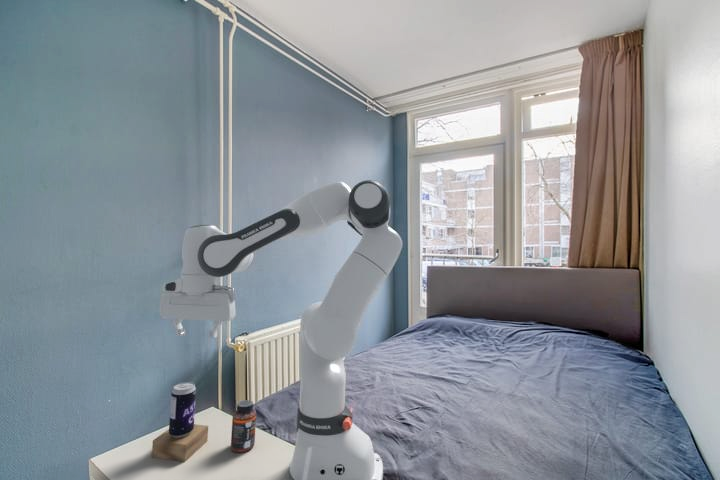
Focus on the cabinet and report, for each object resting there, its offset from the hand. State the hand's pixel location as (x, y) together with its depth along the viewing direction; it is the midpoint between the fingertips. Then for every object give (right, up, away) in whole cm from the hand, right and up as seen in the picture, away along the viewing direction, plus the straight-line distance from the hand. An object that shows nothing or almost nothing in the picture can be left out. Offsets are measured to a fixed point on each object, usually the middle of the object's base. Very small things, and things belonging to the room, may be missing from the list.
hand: (196, 336), depth 87 cm
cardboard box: (-3, -28, -3) cm, 28 cm away
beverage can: (-2, -24, -3) cm, 25 cm away
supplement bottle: (+13, -29, -1) cm, 32 cm away
